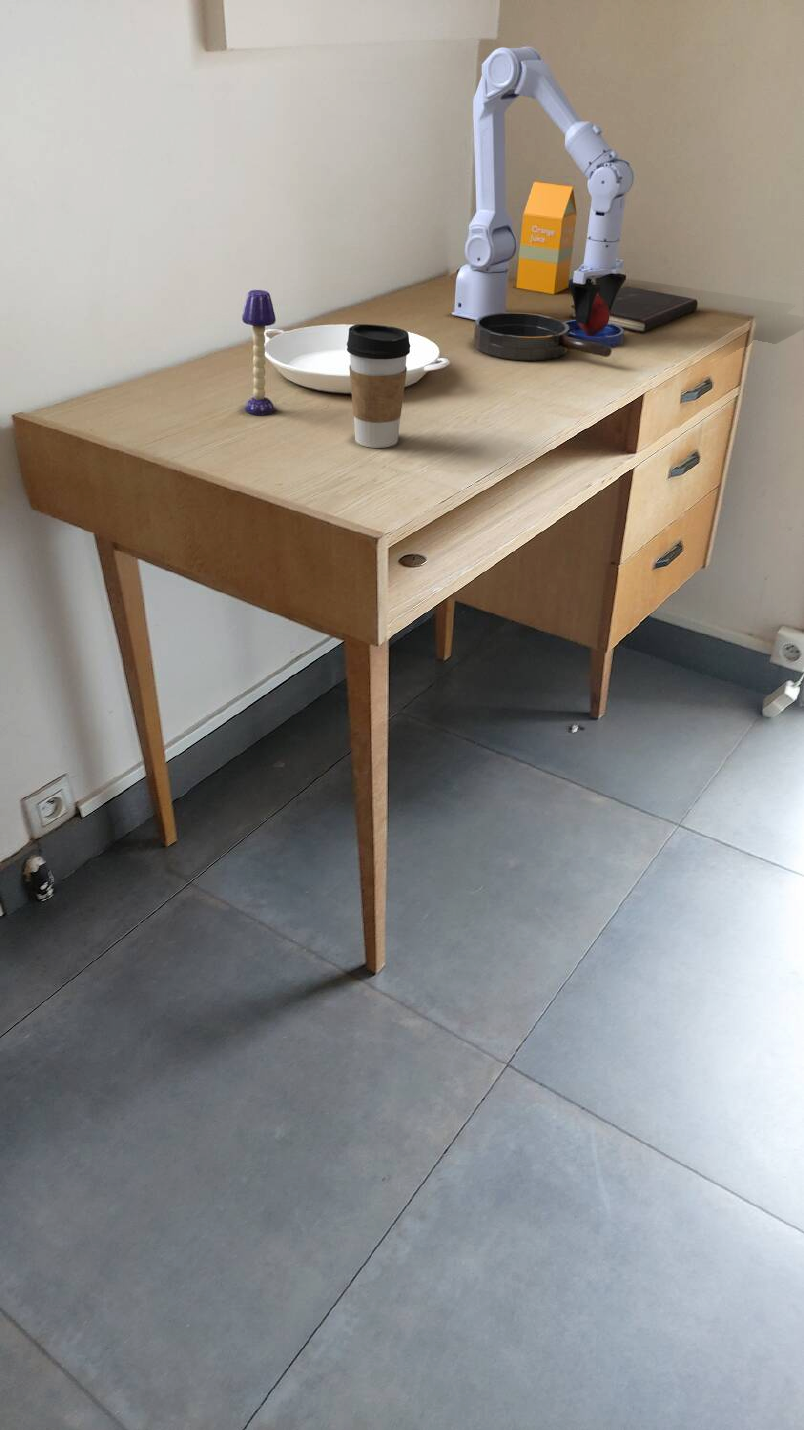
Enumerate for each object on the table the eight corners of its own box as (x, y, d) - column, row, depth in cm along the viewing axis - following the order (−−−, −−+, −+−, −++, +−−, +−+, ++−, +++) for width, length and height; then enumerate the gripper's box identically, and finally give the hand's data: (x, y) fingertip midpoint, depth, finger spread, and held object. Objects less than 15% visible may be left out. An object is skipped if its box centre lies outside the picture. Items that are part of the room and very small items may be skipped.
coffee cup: (344, 429, 149) (345, 320, 140) (404, 430, 149) (408, 321, 141) (347, 451, 142) (348, 338, 133) (409, 451, 143) (414, 339, 134)
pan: (216, 379, 165) (214, 351, 163) (305, 337, 186) (305, 311, 184) (408, 417, 154) (409, 387, 151) (480, 367, 175) (482, 340, 173)
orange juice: (553, 294, 219) (565, 188, 207) (515, 287, 222) (525, 183, 211) (568, 287, 224) (581, 184, 213) (531, 281, 228) (541, 179, 216)
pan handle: (554, 346, 180) (555, 335, 179) (559, 344, 181) (560, 333, 180) (607, 359, 175) (609, 348, 174) (612, 356, 176) (614, 345, 175)
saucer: (545, 338, 191) (546, 328, 190) (578, 326, 199) (579, 316, 198) (602, 351, 185) (603, 341, 184) (633, 338, 193) (635, 328, 192)
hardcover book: (570, 317, 204) (571, 305, 202) (625, 297, 219) (627, 285, 217) (644, 333, 196) (646, 321, 194) (696, 311, 211) (698, 299, 210)
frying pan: (455, 348, 184) (456, 324, 182) (506, 330, 195) (508, 307, 193) (534, 367, 176) (537, 343, 174) (583, 347, 187) (586, 324, 185)
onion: (605, 333, 194) (611, 288, 190) (607, 342, 189) (613, 295, 185) (573, 331, 195) (579, 286, 190) (575, 340, 190) (580, 293, 185)
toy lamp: (271, 403, 157) (267, 286, 147) (283, 413, 153) (279, 294, 144) (241, 407, 155) (234, 289, 145) (252, 417, 151) (246, 297, 142)
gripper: (603, 248, 176) (592, 331, 183) (643, 236, 185) (630, 316, 193) (566, 241, 179) (557, 323, 187) (607, 230, 189) (597, 309, 196)
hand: (592, 319), depth 190 cm, fingers open, 7 cm apart
